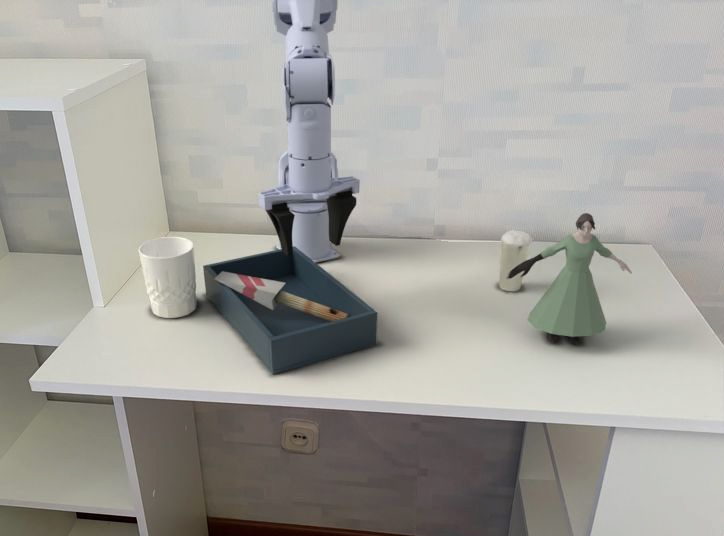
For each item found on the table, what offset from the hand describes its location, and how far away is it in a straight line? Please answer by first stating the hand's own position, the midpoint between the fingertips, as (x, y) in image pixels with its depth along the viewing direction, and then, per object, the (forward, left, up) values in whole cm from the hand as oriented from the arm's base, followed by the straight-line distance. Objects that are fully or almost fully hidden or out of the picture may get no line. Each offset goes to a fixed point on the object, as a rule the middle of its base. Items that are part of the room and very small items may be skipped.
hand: (311, 248), depth 102 cm
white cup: (-10, -19, -10) cm, 23 cm away
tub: (+1, -5, -10) cm, 11 cm away
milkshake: (+9, +30, -10) cm, 33 cm away
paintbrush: (+1, -6, -7) cm, 9 cm away
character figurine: (+24, +25, -10) cm, 37 cm away
